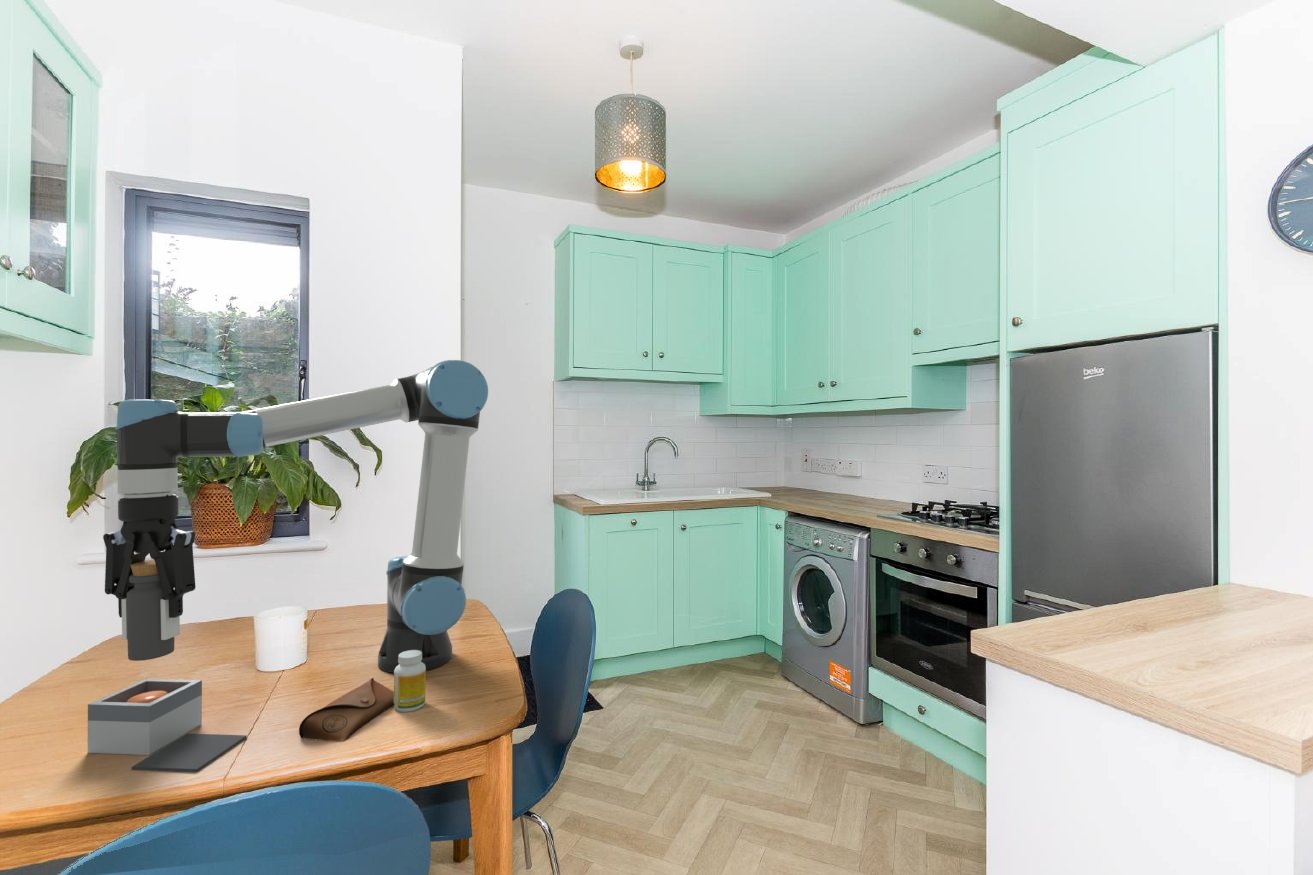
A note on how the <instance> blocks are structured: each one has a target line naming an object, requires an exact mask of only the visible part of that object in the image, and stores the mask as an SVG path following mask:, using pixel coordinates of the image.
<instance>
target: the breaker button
mask: <svg viewBox="0 0 1313 875" xmlns="http://www.w3.org/2000/svg"><path fill="white" fill-rule="evenodd" d="M165 695H167V692H166V691H151V692H146V693H142V694H139V695H136V696H134V697H131V698H130V699H128V701H127V703H151V702H153V701H155V700H157V699H159V698H161V697H163V696H165Z"/></svg>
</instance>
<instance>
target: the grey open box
mask: <svg viewBox="0 0 1313 875" xmlns="http://www.w3.org/2000/svg"><path fill="white" fill-rule="evenodd" d="M151 691H166V692H167V695H165V696H163V697H161V698H159V699H157V700H155V701H153V702H151V703H127V701H128V699H130V698H131V697H134V696H136V695H139V694H142V693H146V692H151ZM202 696H203V680H202V679H174V678H170V679H169V678H167V679H166V678H144V679H141V680H139V681H138V682H135V683H133V684H130V685H129V686H126V687H124V688H122V689H119V690H117V691H114V692H113V693H110V694H108V695H106V696H104V697H102V698H101V697H100V698H99V699H97V700H94V701H92V702H90V703H88V704H87V754H106V755H107V754H109V755H110V754H112V755H133V756H134V755H138V756H139V755H140V756H142V755H143V756H151V755H152V754H154V753H156V752H157V751H159V750H161V749H163V748H164V747H166V746H168V745H169V744H171V743H173V742H174V741H176V740H178V739H179V738H181V737H183V736H185V735H186V734H189V733H190V732H191V731H192V730H194V729H196V728H199V726H201V725H202V723H203V721H202V720H203V712H202V710H203V707H202V705H203V697H202Z"/></svg>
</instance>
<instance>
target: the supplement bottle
mask: <svg viewBox="0 0 1313 875" xmlns="http://www.w3.org/2000/svg"><path fill="white" fill-rule="evenodd" d="M421 660H422V652H421V651H419V650H409V651H405V652H402V653H400V654H399V656H398V662H399V665H398V666H397V667H396V668H395V670H394V673H393V691H394V705H393V708H394V710H395V711H397V712H401V713H410V712H414V711H418V710H420V709H422V708H423V707H424V705H425V704H426V688H427V687H426V681H427V679H426V678H427V676H426V674H427V673H426V672H427V670H426V667H425V664H424V663H422V662H420V661H421Z"/></svg>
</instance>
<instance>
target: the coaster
mask: <svg viewBox="0 0 1313 875" xmlns="http://www.w3.org/2000/svg"><path fill="white" fill-rule="evenodd" d="M247 738H248V736H247V734H246V735H243V734H218V733H217V734H214V733H186V734H184V735H182V736H181V737H179V738H177V739H176V740H174V741H172V742H171V743H169V744H167V745H166V746H164V747H162V748H160V749H159V750H157V751H155V752H154V753H152V754H150V755H148V756H147V757H146V758H144V759H143V760H141V761H139V762H137V763H135V764H134V765H132V766H131V770H132V771H133V770H137V771H158V772H159V771H165V772H190V773H191V772H193V773H196V772H199V771H200V770H202V769H204V768H205V767H207V766H208V765H209V764H210V763H212V762H214V761H215V760H216V759H218V758H220V757H221V756H222V755H224V754H225V753H227V752H228V751H229V750H232V748H234V747H236V746H238V744H240V743H241V742H243V741H245V740H246V739H247Z"/></svg>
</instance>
